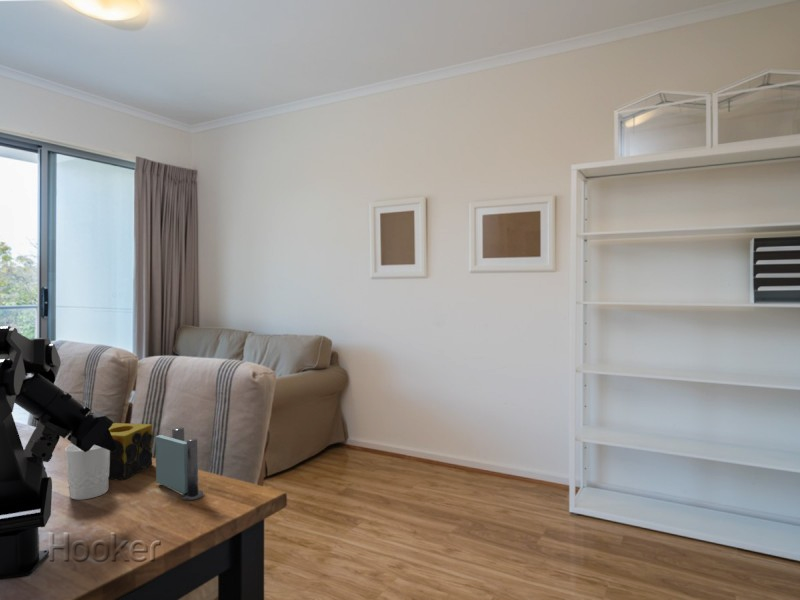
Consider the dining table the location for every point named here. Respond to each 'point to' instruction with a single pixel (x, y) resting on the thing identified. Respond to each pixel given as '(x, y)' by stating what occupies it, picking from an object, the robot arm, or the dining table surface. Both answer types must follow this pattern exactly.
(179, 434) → the post
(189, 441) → the hinge post
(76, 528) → the dining table surface
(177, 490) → the strip
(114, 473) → the holed cube box
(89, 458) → the white cup
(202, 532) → the dining table surface
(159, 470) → the gate
